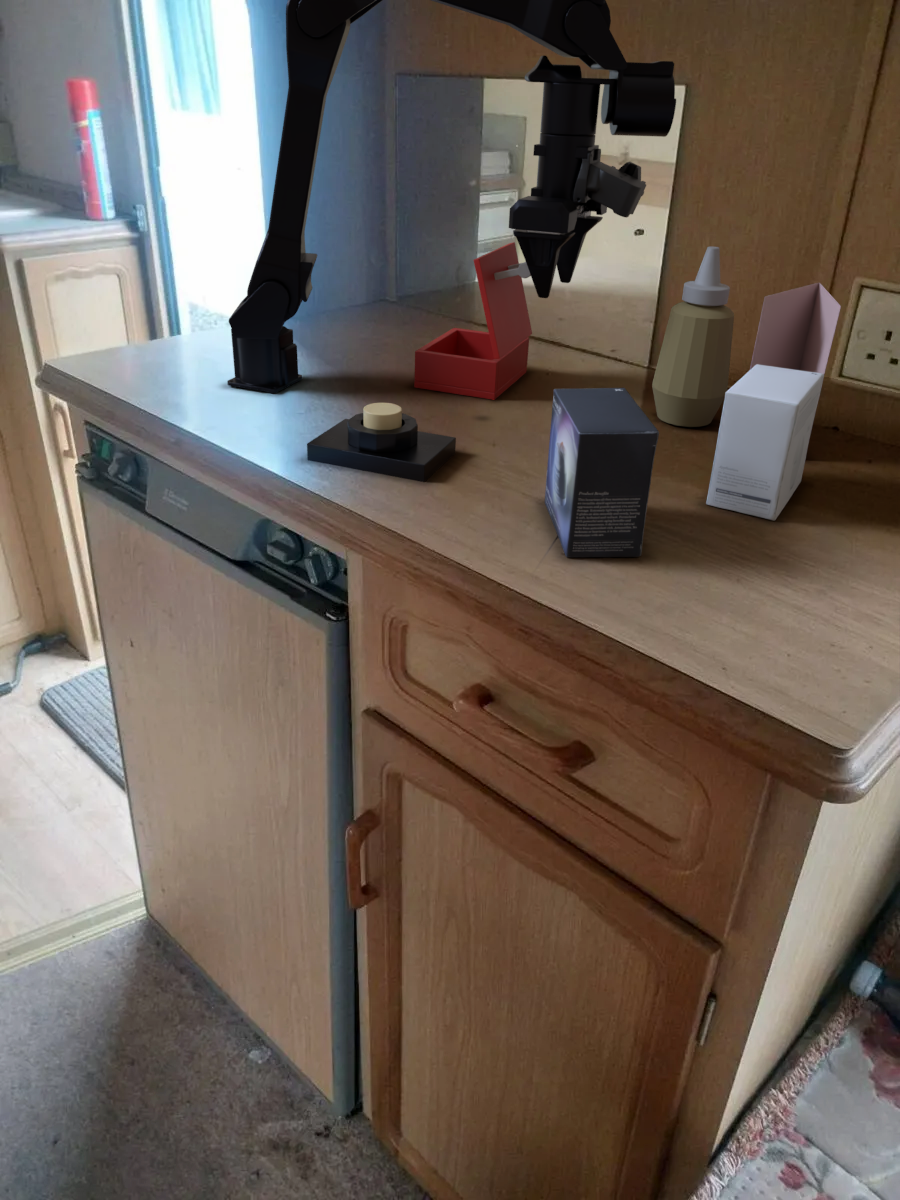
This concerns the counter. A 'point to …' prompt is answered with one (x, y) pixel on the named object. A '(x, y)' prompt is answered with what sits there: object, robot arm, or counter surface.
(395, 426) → the button
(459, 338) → the box
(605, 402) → the small box
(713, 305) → the squeeze bottle
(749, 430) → the cosmetics box
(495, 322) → the door
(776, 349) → the greeting card
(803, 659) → the counter surface
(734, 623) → the counter surface
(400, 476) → the button housing
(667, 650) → the counter surface
